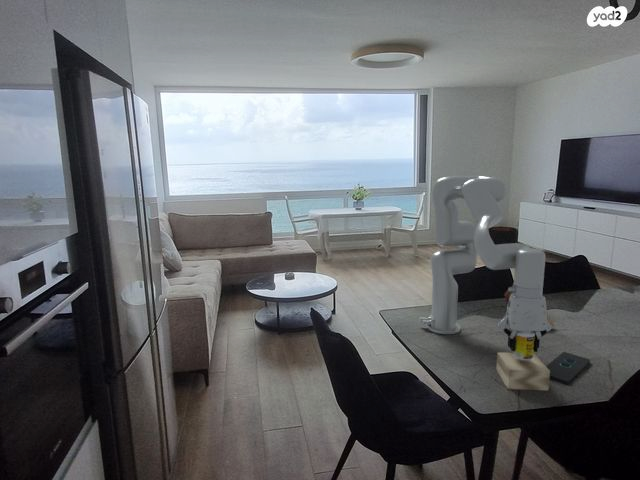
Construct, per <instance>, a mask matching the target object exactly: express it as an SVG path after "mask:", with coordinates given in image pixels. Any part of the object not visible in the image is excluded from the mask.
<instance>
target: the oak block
mask: <svg viewBox="0 0 640 480" xmlns="http://www.w3.org/2000/svg"><path fill="white" fill-rule="evenodd" d="M546 366H547V365H545V363H543V362H542V360H541V359H540V358H539V357H538V356H537V354H536V353H535V352H533V358H532V359H531V360H528V361H524V360H519V359H517V358H515V357H514V356H513V355H512V352H500V351H499V352H497V354H496V368H495V369H496V371H497V373H498V375H499V376H500V377H499V378H501V380H502V381H503V383H504V384H505V387H506V388H507V389H508V390H527V391H529V390H530V391H546V392H547V391H549V387H550V379H549V378H550V370H549V369H548V368H547V367H546Z"/></svg>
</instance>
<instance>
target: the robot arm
mask: <svg viewBox="0 0 640 480" xmlns="http://www.w3.org/2000/svg"><path fill="white" fill-rule="evenodd" d="M506 195H507V188H506V185H505V183H504V181H503V180H501V179H500V178H498V177H491V176H490V177H489V176H484V175H452V176H445V177H440V178H438V179H437V180H436V181H435V183H434V184H433V186H432V190H431V196H432V203H433V208H434V241H435V243H436V245H437V246H440V247H443V248H445V247H446V248H447V247H458V248H456V249H442V250H438V251H435V252H434V253H433V254H432V255H431V257H430V268H431V269H430V270H431V276H432V277H431V278H432V280H431V282H432V283H431V285H432V286H431V288H432V289H431V290H432V291H431V314H429V316H427V317H420V316H419V318H418V320H419V323H422V324H423V325H426V328H427V329H428V330H429V331H430V332H433V333H436V334H440V335H454V334H458V333H459V332H460V331H461V326H460V324H458V323H457V317H458V316H457V315H458V294H459V285H458V283H457V281H456V279H455V278H454V275H458V274H467V273H471V272H473V271H474V270H475V268H476V266H477V262H478V261H477V260H478V257H477V256H479V259H480V260H481V262H482V263H483V265H484V266H485V267H486V268H488V269H490V270H493V271H497V270H509V269H514V276H513V277H514V278H513V284H512V286H509V287H508V289H507V290H508V291H509V292H513V293H512V294H511V295H510V298H509V301H508V306H507V307H506V313H505V316H504V317H503V318H502V319H501V320H499V322H498V323H497V327H498V328H499V329H500V330H502V331H503V332H504V333H505V334H506V336H508V337H507V347H508V348H509V349H510V350H511V352H512V351H515V345H516V339H515V338H514V337H515V334H516V332H517V331H533V332H534V333H535V340H534V350H533V353H538V349H540V340H542V338H543V337H544V336H546V334H547V333H548V332H550V331H552V330H553V329H554V328H553V326H554V325H553V326H552V325H551V324H550V323H549V322H548V321H547V318H548V315H547V314H548V312H547V311H548V310H547V301H546V297H545V296H543V292H544V291H543V288H544V280H545V279H544V278H545V267H546V253H545V252H544V251H543V250H542V249H538V248H533V247H532V248H531V246H528V245H526V244H524V243H521V242H514V243H513V242H511V243H500V244H498V243H497V244H495V242H494V241H493V239H492V237H491V235H490V231H489V229H490V228H492V227H494V226H496V225H497V224H498V223H500V221H502V219H504V218H503V217H504V211H503V210H502V208H501V206H500V204H499V203H500V202H501V201H504V199H505V197H506ZM454 200H464V201H465V203H466V204H467V206H468V207H467V208H468V209H469V211H470V212H471V214H472V216H473V219H474V220H475V222H476V226H475V225H474V223H472V222H471V221H468V220H459V208H458V206H457V204H456V203H455V202H454ZM506 325H508V327H506ZM552 328H553V329H552ZM551 329H552V330H551Z"/></svg>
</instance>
